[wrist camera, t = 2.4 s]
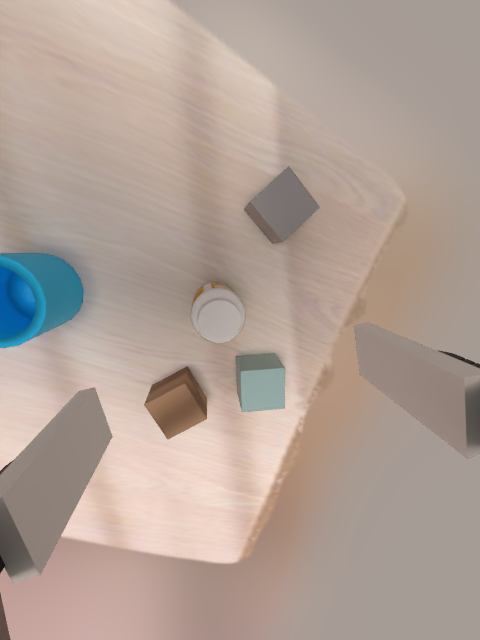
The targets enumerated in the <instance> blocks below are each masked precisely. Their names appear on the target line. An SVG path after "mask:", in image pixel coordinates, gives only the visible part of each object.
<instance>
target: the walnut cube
mask: <svg viewBox="0 0 480 640" xmlns="http://www.w3.org/2000/svg"><path fill="white" fill-rule="evenodd" d="M144 405H145V407H146V408H147V410H148V411H149V413H150V414H151V415H152V417H153V418H154V420H155V421H156V423H157V424H158V426H159V427H160V429H161V430H162V432H163V433H164V435H165V436H166V438H167V439H170V438H172V437H174V436H175V435H177V434H179V433H181V432H183V431H185V430H187V429H189V428H191V427H193V426H194V425H196V424H198V423H200V422H202V421H204V420H206V419H207V398H206V396H205V395H204V393H203V391H202V390H201V388H200V386H199V385H198V383H197V382H196V380H195V378H194V377H193V375H192V373H191V372H190V370H189V368H188V367H186V368H184V369H182V370H180V371H178V372H176V373H175V374H173V375H171V376H169V377H167V378H165V379H163V380H161V381H159V382H157V383H156V384H154V385H152V387H151V389H150V392H149V394H148V397H147V399H146V402H145V404H144Z"/></svg>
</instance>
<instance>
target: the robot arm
mask: <svg viewBox="0 0 480 640" xmlns="http://www.w3.org/2000/svg"><path fill="white" fill-rule="evenodd" d="M354 331H355V340H356V348H357V356H358V364H359V372H360V375H361V376H362V377H363V378H365V379H366V380H367V381H368V382H370V383H371V384H372V385H373V386H375V387H376V388H377V389H379V390H380V391H381V392H382V393H384V394H385V395H386V396H388V397H389V398H390V399H391V400H393V401H394V402H395V403H397V404H398V405H399V406H400V407H402V408H403V409H404V410H406V411H407V412H408V413H409V414H411V415H412V416H413V417H415V418H416V419H417V420H418V421H420V422H421V423H422V424H423V425H425V426H426V427H427V428H429V429H430V430H431V431H432V432H434V433H435V434H436V435H438V436H439V437H440V438H441V439H443V440H444V441H445V442H447V443H448V444H449V445H450V446H452V447H453V448H454V449H456V450H457V451H458V452H460V453H461V454H462V455H463V456H465V457H466V458H471V457H474V456H478V455H480V364H478V363H476V364H475V362H473V361H470V360H468V359H466V360H465V358H463V357H460V356H458V355H455V354H452V353H448V352H443V351H436V350H434V349H432V348H429V347H426V346H424V345H422V344H419V343H417V342H415V341H412V340H410V339H407V338H405V337H403V336H400V335H398V334H395V333H393V332H391V331H388V330H386V329H383V328H381V327H378V326H376V325H374V324H371V323H369V322H367V323H363V324H358V325H354ZM111 438H112V434H111V431H110V429H109V426H108V423H107V420H106V417H105V415H104V412H103V409H102V406H101V403H100V400H99V398H98V395H97V392H96V389H95V388H90V389H86V390H82V391H79V392H78V393H77V394H76V395H75V396H74V397H73V398H72V399H71V400H70V401H69V402H68V403H67V404H66V405H65V407H64V408H63V409H62V410H61V411H60V412H59V413H58V414H57V415H56V416H55V417H54V418H53V419H52V420H51V421H50V422H49V424H48V425H47V426H46V427H45V428H44V429H43V430H42V431H41V432H40V433H39V434H38V435H37V436H36V437H35V438H34V439H33V441H32V442H31V443H30V444H29V445H28V446H27V447H26V448H25V449H24V450H23V451H22V452H21V453H20V454H19V455H18V456H17V458H16V459H14V460H13V461H12V462H10V463H9V464H8V465H6V466H5V467H4V468H3V469H2V470H1V471H0V573H1V571H2V570H3V568H4V567H5V569H6V571H7V573H8V575H9V577H10V579H11V581H12V583H15V582H18V581H22V580H26V579H29V578H33V577H37V576H40V575H41V573H42V571H43V569H44V567H45V565H46V563H47V561H48V559H49V558H50V556H51V554H52V552H53V550H54V548H55V546H56V544H57V542H58V540H59V538H60V536H61V534H62V533H63V531H64V529H65V527H66V525H67V523H68V521H69V519H70V517H71V515H72V513H73V511H74V509H75V508H76V506H77V504H78V502H79V500H80V498H81V496H82V494H83V492H84V490H85V488H86V486H87V485H88V483H89V481H90V479H91V477H92V475H93V473H94V471H95V469H96V467H97V465H98V463H99V461H100V460H101V458H102V456H103V454H104V452H105V450H106V448H107V446H108V444H109V442H110V440H111ZM0 640H10V636H9V631H8V627H7V622H6V618H5V613H4V608H3V604H2V599H1V594H0Z"/></svg>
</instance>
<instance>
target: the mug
mask: <svg viewBox="0 0 480 640" xmlns="http://www.w3.org/2000/svg"><path fill="white" fill-rule="evenodd" d="M82 302H83V287H82V284H81V280H80V278H79V276H78V275H77V273H76V272H75V271H74V269H73V268H72V267H71V266H70V265H68V264H67V263H66V262H65V261H64V260H62V259H59V258H57V257H55V256H53V255H48V254H40V253H0V348H7V347H12V346H17V345H20V344H22V343H24V342H26V341H28V340H30V339H33V338H35V337H37V336H39V335H41V334H43V333H45V332H47V331H49V330H51V329H53V328H55V327H57V326H59V325H61V324H63V323H65V322H66V321H68V320H70V319H72V318H73V317H74V316H75V314H76V313H77V312H78V311H79V309H80V307H81V304H82Z"/></svg>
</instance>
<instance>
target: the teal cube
mask: <svg viewBox="0 0 480 640" xmlns="http://www.w3.org/2000/svg"><path fill="white" fill-rule="evenodd" d="M236 368H237V393H238V397H239V401H240V406H241V410H242V412H250V411H261V410H272V409H282V408H285V367H284V366H283V365H282V363H281V362H280V360H279V359H278V357H277V356H276V355H275V353H274V354H260V355H246V356H236Z"/></svg>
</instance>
